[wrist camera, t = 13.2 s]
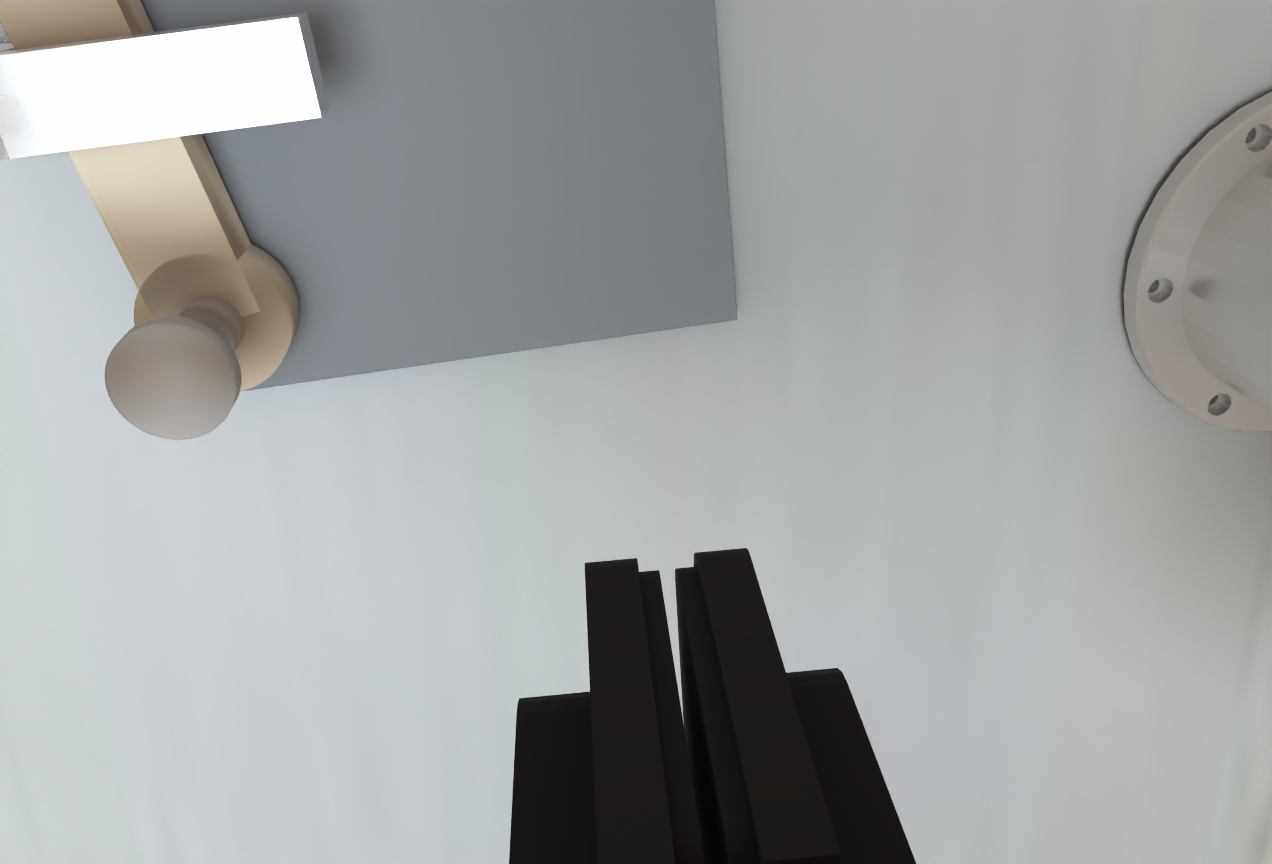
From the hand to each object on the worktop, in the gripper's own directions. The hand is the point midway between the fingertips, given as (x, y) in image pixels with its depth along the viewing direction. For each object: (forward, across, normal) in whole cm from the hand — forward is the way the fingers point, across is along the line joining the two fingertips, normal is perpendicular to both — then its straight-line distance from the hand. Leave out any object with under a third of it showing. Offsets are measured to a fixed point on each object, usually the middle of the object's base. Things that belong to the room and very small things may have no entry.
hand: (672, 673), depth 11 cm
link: (+23, +13, -4) cm, 27 cm away
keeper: (+25, +12, -4) cm, 28 cm away
